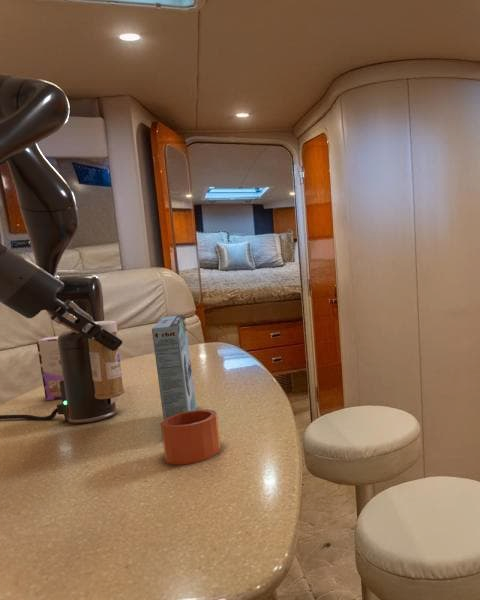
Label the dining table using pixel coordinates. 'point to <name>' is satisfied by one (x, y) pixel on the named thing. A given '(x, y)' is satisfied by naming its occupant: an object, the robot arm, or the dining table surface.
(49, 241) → the robot arm
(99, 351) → the sprinkles bottle
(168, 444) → the cup
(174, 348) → the gum box
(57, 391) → the candy box
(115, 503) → the dining table surface
